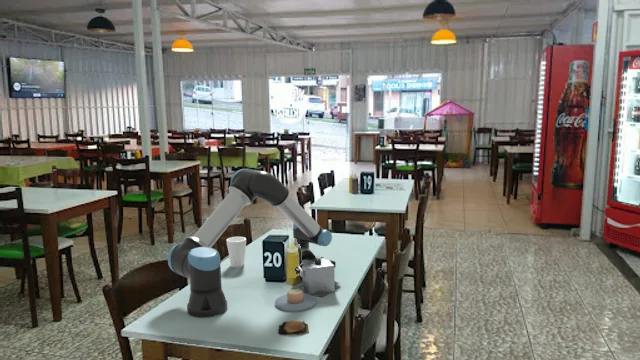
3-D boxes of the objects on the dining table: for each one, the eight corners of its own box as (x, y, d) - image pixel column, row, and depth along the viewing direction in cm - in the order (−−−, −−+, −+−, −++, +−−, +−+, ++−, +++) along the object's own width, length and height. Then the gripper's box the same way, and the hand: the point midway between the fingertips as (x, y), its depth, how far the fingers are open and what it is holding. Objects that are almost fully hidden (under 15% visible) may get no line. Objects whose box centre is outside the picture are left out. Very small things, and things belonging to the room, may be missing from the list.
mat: (322, 297, 205) (322, 296, 205) (296, 290, 212) (296, 290, 212) (339, 287, 215) (339, 286, 215) (315, 281, 223) (315, 280, 223)
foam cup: (249, 262, 252) (248, 236, 250) (244, 268, 242) (243, 242, 240) (230, 262, 253) (229, 236, 250) (225, 268, 243) (224, 241, 241)
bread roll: (308, 325, 181) (307, 315, 181) (309, 335, 173) (309, 325, 172) (278, 326, 181) (278, 316, 180) (278, 337, 172) (277, 327, 172)
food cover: (334, 291, 210) (334, 261, 208) (308, 294, 207) (308, 264, 205) (327, 282, 220) (327, 254, 218) (302, 285, 217) (302, 256, 216)
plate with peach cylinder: (299, 315, 188) (298, 303, 188) (266, 305, 198) (266, 294, 197) (323, 300, 201) (323, 289, 201) (292, 292, 210) (291, 281, 210)
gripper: (332, 262, 239) (346, 277, 219) (280, 268, 233) (289, 284, 213) (331, 247, 238) (345, 260, 218) (279, 252, 232) (288, 267, 212)
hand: (318, 272), depth 215 cm, fingers open, 13 cm apart
